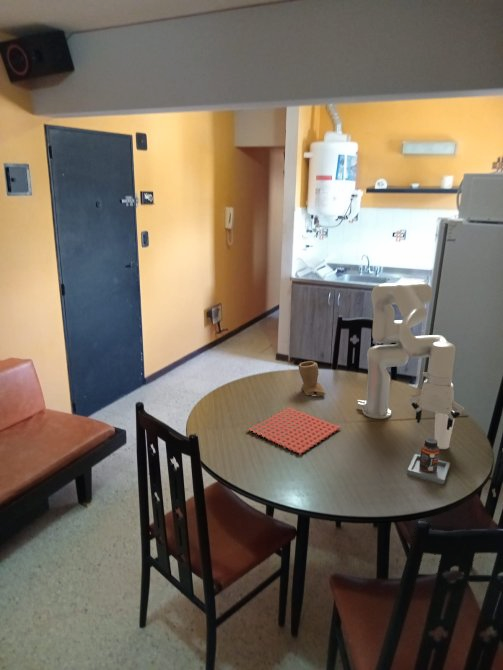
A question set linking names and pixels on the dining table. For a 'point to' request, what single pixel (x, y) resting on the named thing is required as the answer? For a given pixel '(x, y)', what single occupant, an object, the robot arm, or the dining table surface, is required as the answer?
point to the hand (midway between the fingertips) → (433, 424)
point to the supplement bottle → (429, 455)
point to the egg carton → (296, 430)
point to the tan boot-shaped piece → (310, 378)
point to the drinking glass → (442, 430)
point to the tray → (433, 477)
